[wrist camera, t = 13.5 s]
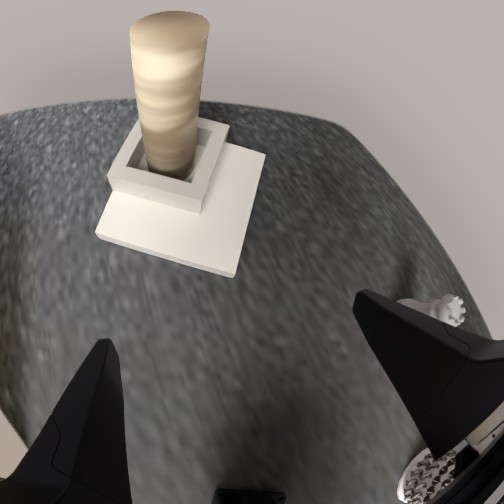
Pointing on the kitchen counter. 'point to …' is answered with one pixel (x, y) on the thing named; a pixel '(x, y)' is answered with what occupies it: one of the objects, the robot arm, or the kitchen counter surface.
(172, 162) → the birch post
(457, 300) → the rook chess piece
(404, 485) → the decorative candle
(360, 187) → the kitchen counter surface
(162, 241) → the socket base
